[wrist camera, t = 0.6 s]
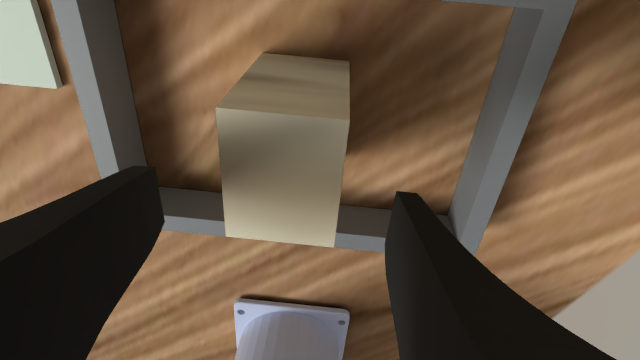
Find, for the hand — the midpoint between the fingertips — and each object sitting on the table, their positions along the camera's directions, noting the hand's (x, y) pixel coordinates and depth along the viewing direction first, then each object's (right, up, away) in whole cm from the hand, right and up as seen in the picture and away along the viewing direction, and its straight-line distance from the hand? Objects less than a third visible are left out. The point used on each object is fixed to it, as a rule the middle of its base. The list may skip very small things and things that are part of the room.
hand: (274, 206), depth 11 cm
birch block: (0, +4, +7) cm, 8 cm away
